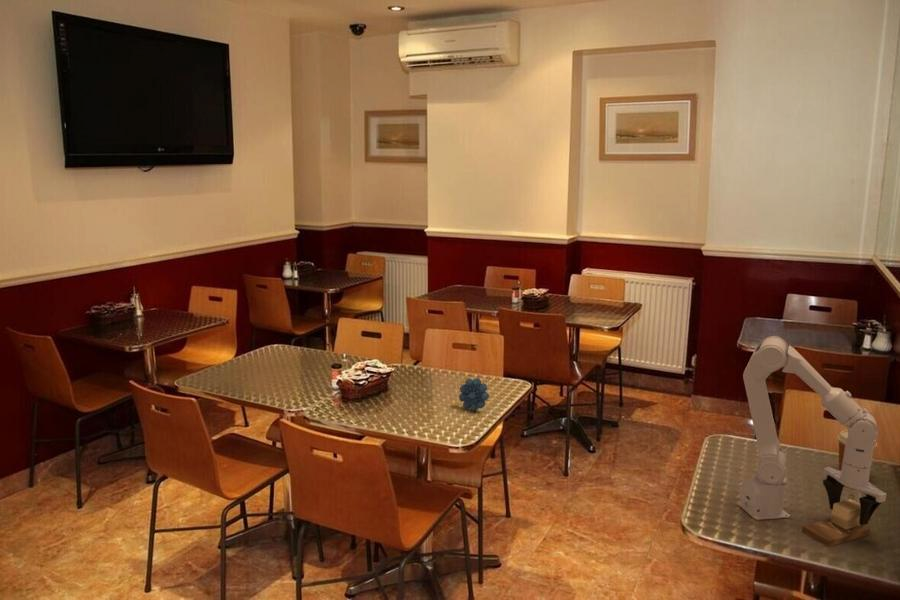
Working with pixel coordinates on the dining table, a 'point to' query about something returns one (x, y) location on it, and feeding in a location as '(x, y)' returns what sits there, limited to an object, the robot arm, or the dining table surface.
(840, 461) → the disposable coffee cup
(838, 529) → the walnut board
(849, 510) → the sanding block
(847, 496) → the medicine box
